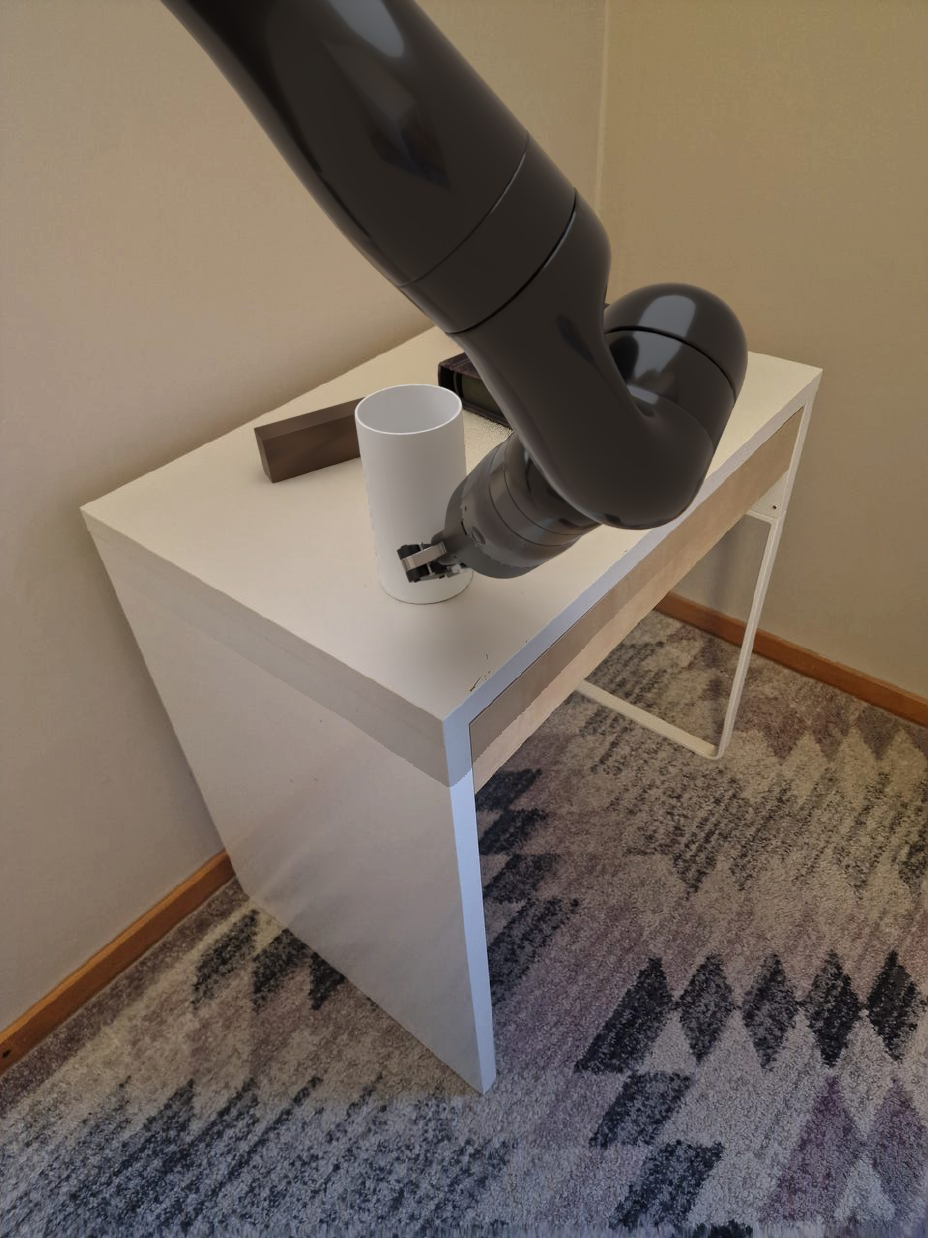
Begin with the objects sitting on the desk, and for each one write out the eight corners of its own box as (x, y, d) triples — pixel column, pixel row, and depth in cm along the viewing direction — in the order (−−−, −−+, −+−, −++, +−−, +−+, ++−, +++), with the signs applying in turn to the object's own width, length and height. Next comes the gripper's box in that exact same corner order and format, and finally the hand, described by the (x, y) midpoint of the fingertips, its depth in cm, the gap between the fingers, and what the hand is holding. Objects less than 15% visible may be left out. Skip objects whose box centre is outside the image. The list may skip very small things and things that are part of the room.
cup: (488, 559, 76) (480, 393, 66) (445, 614, 71) (428, 443, 60) (409, 538, 79) (390, 376, 69) (362, 589, 74) (332, 422, 64)
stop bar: (272, 483, 88) (262, 440, 85) (263, 470, 90) (253, 427, 87) (395, 445, 93) (390, 403, 89) (384, 434, 95) (379, 392, 91)
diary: (437, 398, 100) (434, 357, 97) (574, 330, 113) (575, 292, 110) (558, 450, 90) (559, 407, 87) (694, 369, 102) (700, 328, 99)
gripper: (588, 422, 55) (504, 496, 72) (401, 482, 51) (358, 546, 68) (632, 530, 55) (537, 579, 71) (447, 598, 51) (392, 634, 67)
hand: (450, 563), depth 69 cm, fingers closed
